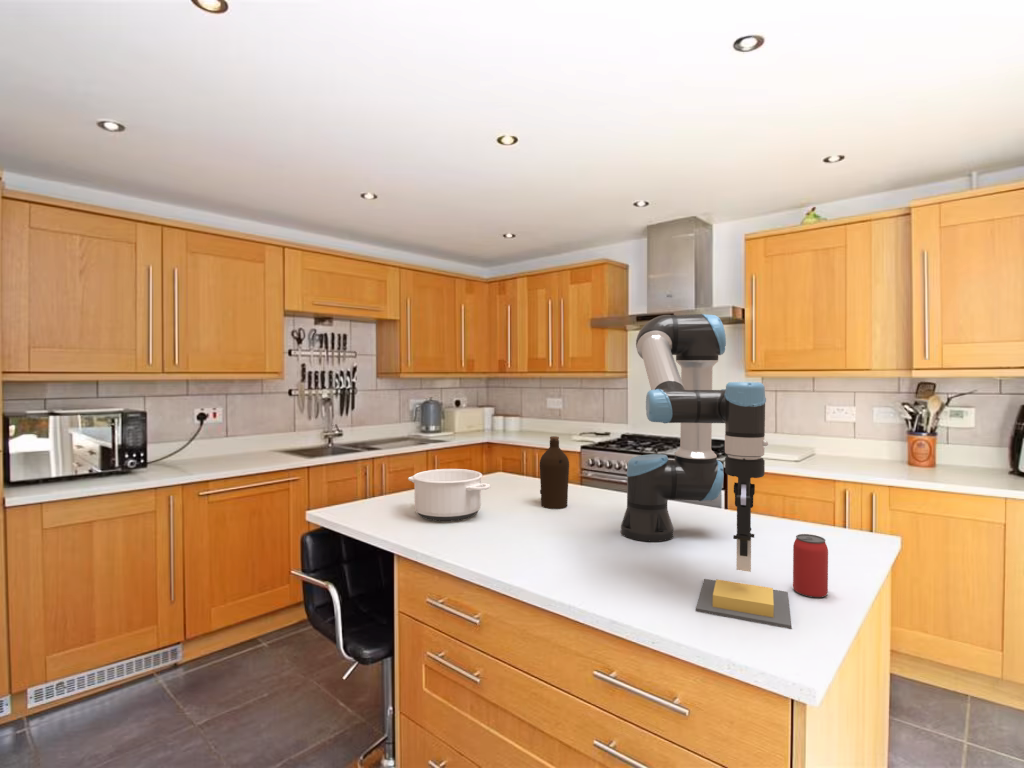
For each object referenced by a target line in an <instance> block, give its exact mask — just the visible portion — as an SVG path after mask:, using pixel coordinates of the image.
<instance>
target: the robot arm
mask: <svg viewBox="0 0 1024 768" xmlns="http://www.w3.org/2000/svg"><path fill="white" fill-rule="evenodd" d="M726 340H727V338H726V331H725V328H724V324H723V322H722V320H721V318H720V317H719V316H717V315H715V314H707V313H706V314H705V313H700V314H698V313H697V314H696V313H695V314H663V315H662V314H661V315H658V316H656V317H654V318H652V319H650V320H649V321H647V322H646V323H645V324H644V325H643V326H642V327H641V329H640V330H639V332H638V333H637V337H636V339H635V348H636V351H637V354H638V356H639V357H640V358H641V359H642V360H643V363H644V368H645V372H646V375H647V379H648V384H649V387H650V389H649V390H648V391H647V393H646V396H645V397H646V398H645V412H646V419H647V420H648V421H649V422H652V423H663V424H679V423H680V434H679V435H680V436H679V437H680V439H679V441H680V443H679V444H680V445H679V446H680V447H679V449H677V451H676V452H674V459H669V458H668V455H667V454H663V453H659V454H658V453H651V454H643V455H637V456H633V457H632V458H630V459H628V462H627V469H626V477H627V478H626V481H627V482H626V483H627V484H626V485H627V486H626V487H627V488H626V491H627V493H626V509H625V512H624V515H623V518H622V521H621V525H620V534H621V535H623V536H624V537H626V538H628V539H631V540H636V541H641V542H650V543H651V542H652V543H653V542H654V543H655V542H665V541H669V540H671V539H673V538H674V526H673V523H672V519H671V516H670V513H669V510H668V501H669V500H670V501H671V500H672V501H699V502H703V501H704V502H705V501H714V500H716V499H717V498H719V496H720V494H721V492H722V489H723V484H724V476H725V474H726V475H728V476H730V477H736V478H737V482H734V484H733V493H734V505H735V507H736V534H735V535H734V534H733V536H732V537H733V539H734V540H736V571H741V572H748V573H751V571H752V539H753V538H755V533H751V532H752V527H751V524H752V521H751V519H752V517H751V516H752V515H751V514H752V508H753V507H754V496H755V495H756V494H755V492H756V489H755V488H756V487H755V486H756V485H755V483H751V479H753V478H754V479H759V478H763V477H765V474H766V473H765V464H766V463H765V461H766V460H765V459H764V458H763V456H765V447H767V446H768V445H769V442H768V441H766V440H765V436H766V435H765V433H766V431H765V429H766V428H765V427H766V403H767V398H766V389H765V388H766V387H765V385H764V384H763V383H762V382H759V381H730V382H728V383H726V385H725V388H723V389H722V388H721V389H713V369H714V368H713V367H714V366H715V365H716V364H717V363H718V362H719V356H722V355H724V354H725V351H726V345H727V341H726ZM674 356H675V358H674ZM676 363H677V364H676ZM677 365H679V366H680V370H681V373H680V372H679V370H678V367H677ZM680 374H681V375H680ZM712 424H724V426H725V427H724V428H725V429H724V430H725V431H724V432H725V433H724V453H725V454H726V456H725V458H724V464H723V463H722V462H721V461H720V460H718V459H717V454H716V453H715V452H714V451H713V450H712V431H713V430H712V428H713V425H712ZM724 473H725V474H724Z"/></svg>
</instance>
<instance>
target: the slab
mask: <svg viewBox="0 0 1024 768" xmlns="http://www.w3.org/2000/svg"><path fill="white" fill-rule="evenodd" d="M773 590H774V589H773V587H769V586H767V587H766V586H762V585H761V586H760V585H756V584H755V585H754V584H749V583H743V582H742V583H741V582H736V581H729V580H723V579H716V583H715V587H714V592H713V607H717V608H723V609H728V610H734V611H739V612H745V613H751V614H756V615H762V616H768V617H773V618H774V602H773Z"/></svg>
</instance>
